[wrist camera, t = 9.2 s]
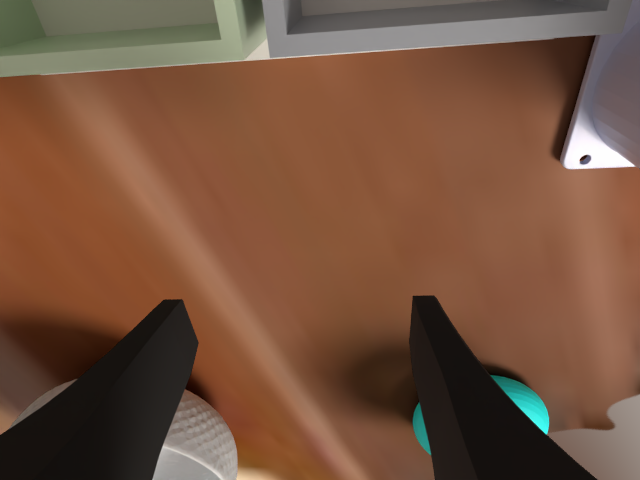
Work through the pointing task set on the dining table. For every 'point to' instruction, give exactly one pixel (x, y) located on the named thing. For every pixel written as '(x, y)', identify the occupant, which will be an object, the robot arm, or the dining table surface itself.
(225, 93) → the dining table surface
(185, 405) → the cereal bowl
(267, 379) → the dining table surface
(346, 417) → the dining table surface
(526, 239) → the dining table surface
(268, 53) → the two-tone hollow container
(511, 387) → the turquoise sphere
